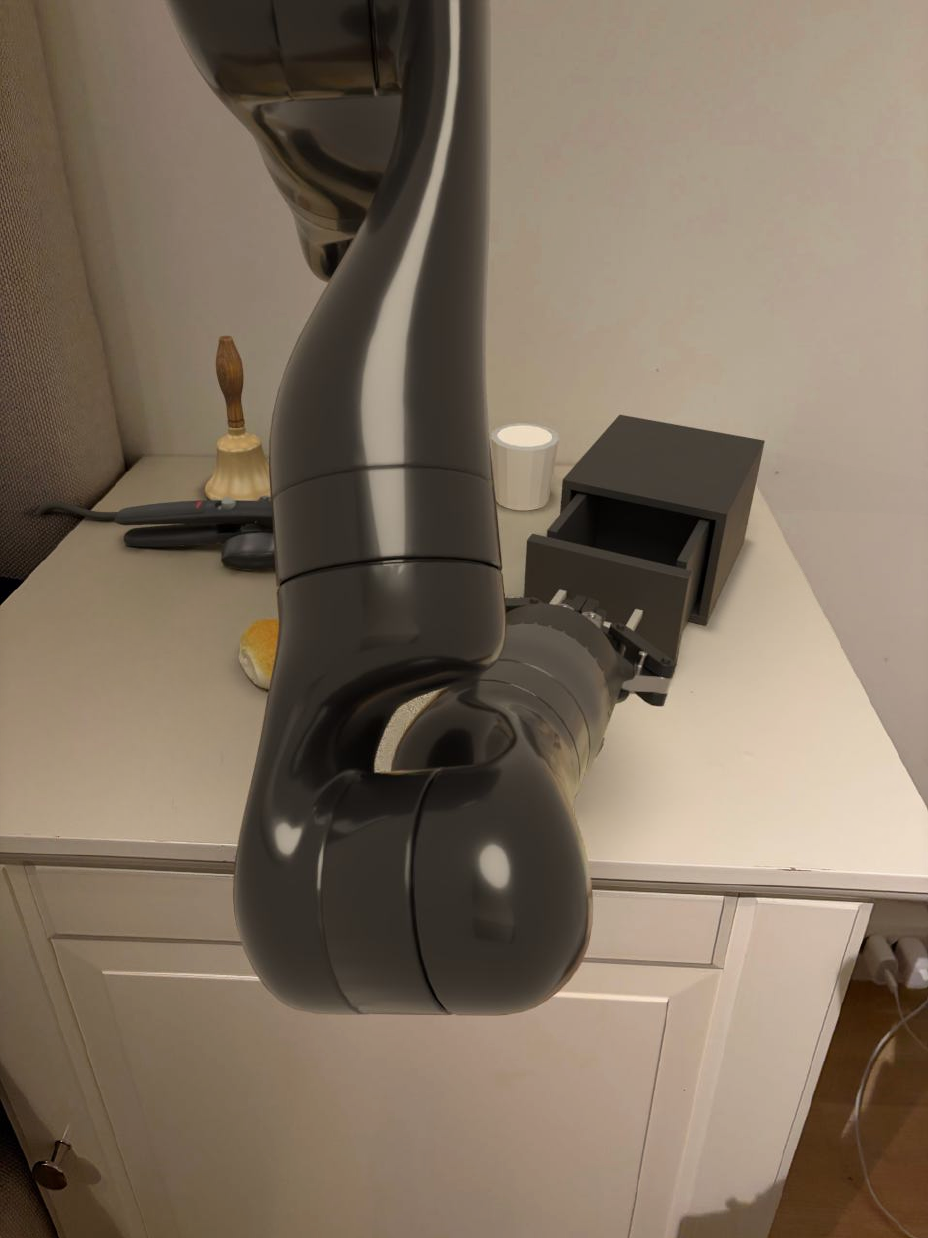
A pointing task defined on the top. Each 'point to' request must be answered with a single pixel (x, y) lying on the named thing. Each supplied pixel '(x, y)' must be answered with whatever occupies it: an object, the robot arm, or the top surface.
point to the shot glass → (523, 464)
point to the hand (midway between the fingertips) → (584, 612)
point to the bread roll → (259, 650)
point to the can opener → (207, 528)
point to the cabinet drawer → (624, 564)
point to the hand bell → (236, 438)
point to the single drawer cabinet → (677, 483)
